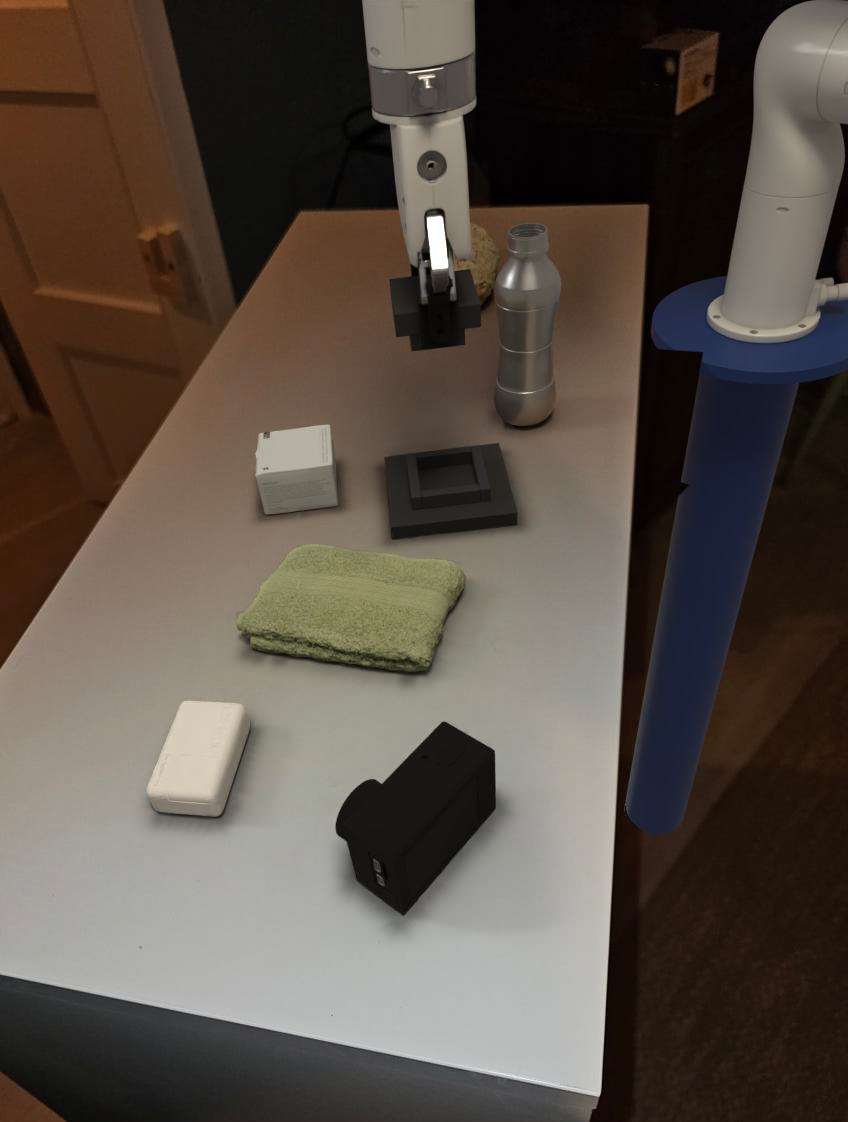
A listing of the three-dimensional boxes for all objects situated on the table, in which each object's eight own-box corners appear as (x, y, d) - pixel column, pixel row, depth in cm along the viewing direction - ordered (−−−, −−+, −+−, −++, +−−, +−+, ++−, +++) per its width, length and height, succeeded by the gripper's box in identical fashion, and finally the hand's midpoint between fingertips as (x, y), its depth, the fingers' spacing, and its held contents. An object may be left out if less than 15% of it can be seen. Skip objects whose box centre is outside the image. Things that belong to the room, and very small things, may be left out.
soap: (190, 720, 70) (179, 696, 68) (254, 723, 69) (246, 699, 67) (153, 815, 64) (140, 792, 62) (223, 821, 63) (213, 797, 60)
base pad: (499, 454, 91) (498, 430, 88) (517, 525, 82) (517, 499, 80) (385, 468, 91) (383, 444, 89) (392, 539, 83) (389, 514, 81)
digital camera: (436, 770, 64) (430, 709, 59) (497, 807, 61) (495, 747, 56) (342, 870, 59) (326, 814, 54) (403, 916, 56) (393, 861, 51)
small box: (339, 507, 87) (332, 464, 84) (263, 516, 88) (253, 475, 84) (337, 463, 93) (330, 422, 89) (266, 472, 93) (256, 431, 90)
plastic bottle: (493, 403, 98) (491, 220, 84) (554, 400, 97) (562, 214, 82) (493, 434, 93) (490, 246, 79) (556, 432, 92) (565, 241, 78)
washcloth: (293, 554, 83) (287, 528, 81) (471, 582, 77) (470, 554, 75) (233, 650, 75) (225, 624, 72) (427, 689, 69) (424, 661, 67)
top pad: (471, 313, 77) (470, 268, 74) (481, 350, 72) (480, 303, 69) (393, 323, 77) (389, 278, 74) (398, 360, 72) (394, 314, 69)
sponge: (499, 320, 114) (511, 230, 124) (486, 269, 108) (499, 178, 118) (406, 337, 119) (424, 249, 129) (388, 289, 113) (409, 200, 123)
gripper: (492, 113, 55) (493, 369, 68) (461, 51, 67) (467, 278, 80) (376, 128, 55) (398, 380, 68) (366, 65, 68) (387, 288, 80)
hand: (435, 323), depth 74 cm, fingers closed on top pad, 7 cm apart
